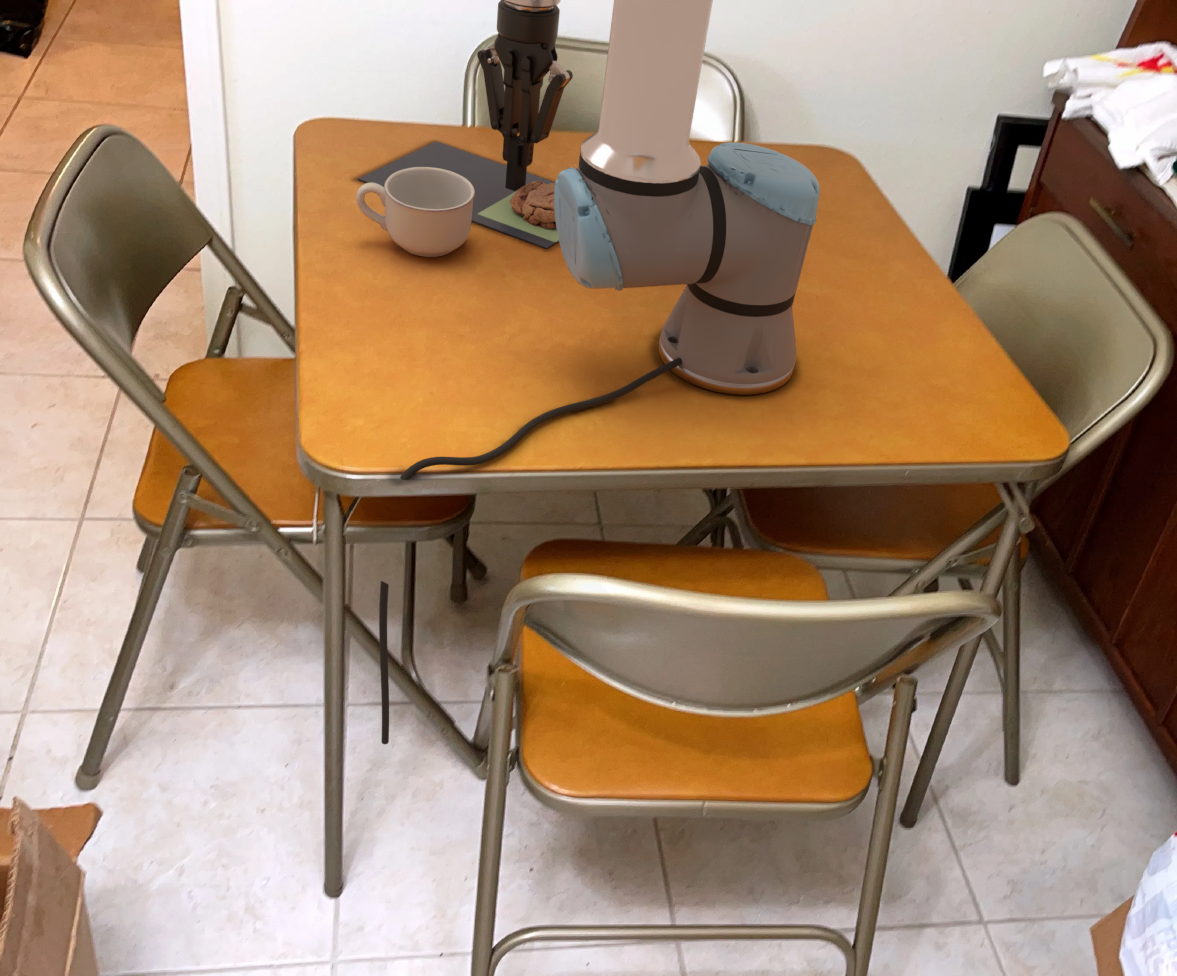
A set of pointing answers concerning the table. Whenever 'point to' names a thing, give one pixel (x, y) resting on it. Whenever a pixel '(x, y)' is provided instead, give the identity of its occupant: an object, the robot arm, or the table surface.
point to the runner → (476, 189)
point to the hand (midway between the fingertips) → (515, 186)
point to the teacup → (423, 209)
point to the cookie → (535, 204)
